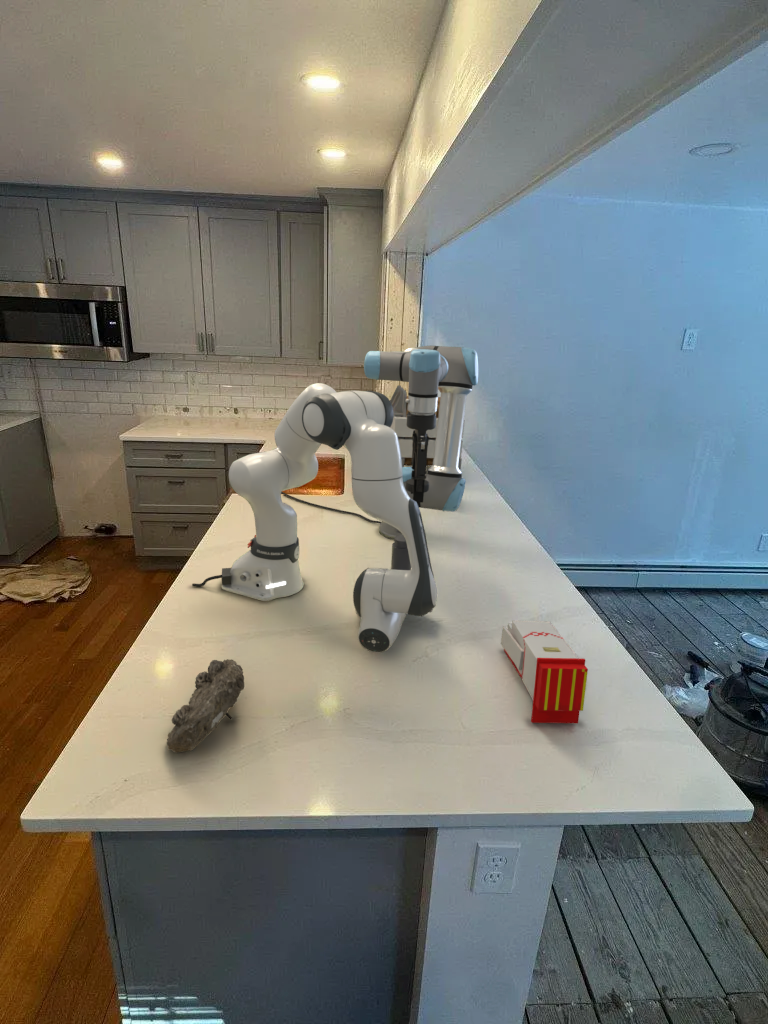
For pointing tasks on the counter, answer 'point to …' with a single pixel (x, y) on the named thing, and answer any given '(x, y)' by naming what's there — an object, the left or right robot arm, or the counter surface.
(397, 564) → the dark gray cylinder
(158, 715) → the counter surface
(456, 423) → the right robot arm
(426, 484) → the lid
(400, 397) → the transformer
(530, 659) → the toy
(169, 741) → the fossil
